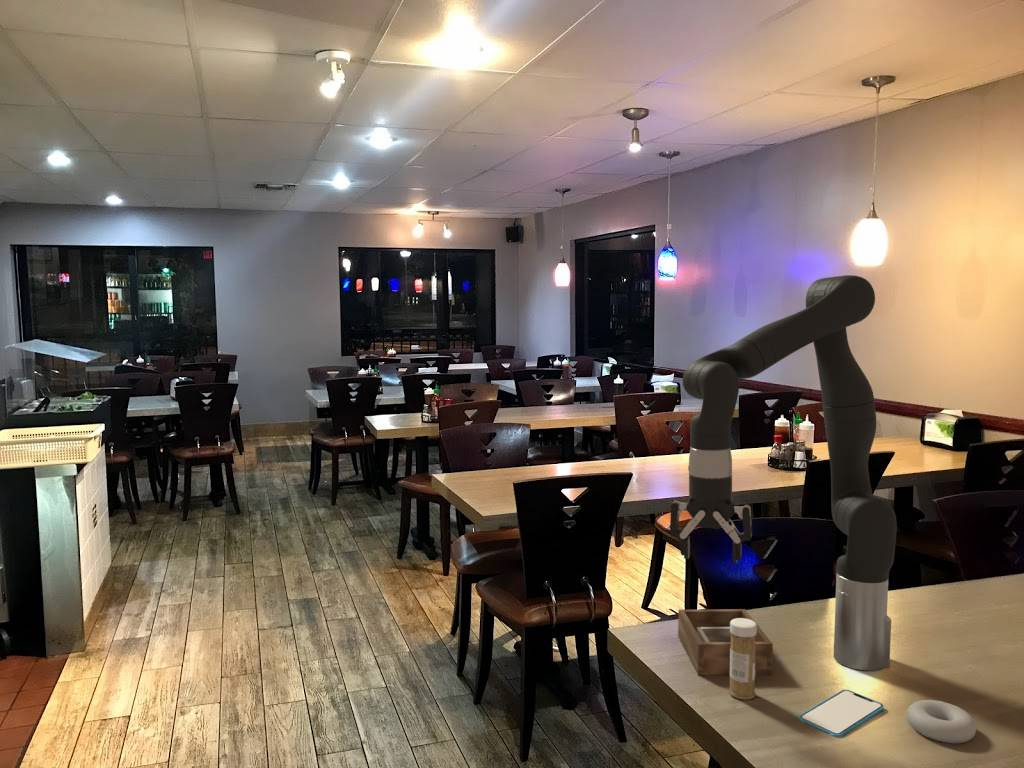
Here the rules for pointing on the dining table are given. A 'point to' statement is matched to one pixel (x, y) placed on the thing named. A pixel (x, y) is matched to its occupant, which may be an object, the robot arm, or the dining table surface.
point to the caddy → (718, 641)
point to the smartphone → (842, 713)
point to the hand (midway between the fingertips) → (710, 559)
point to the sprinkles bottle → (742, 658)
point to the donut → (941, 721)
